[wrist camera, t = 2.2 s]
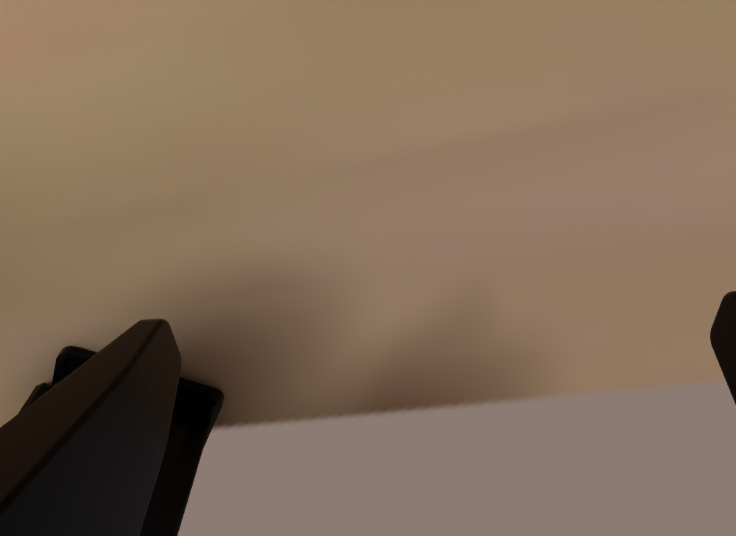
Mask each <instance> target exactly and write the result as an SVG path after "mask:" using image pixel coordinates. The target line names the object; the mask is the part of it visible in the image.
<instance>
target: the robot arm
mask: <svg viewBox="0 0 736 536" xmlns="http://www.w3.org/2000/svg"><path fill="white" fill-rule="evenodd" d="M710 340H711V345H712V348H713V350H714V353H715V355H716V357H717V360H718V362H719V365H720V367H721V370H722V372H723V375H724V377H725V380H726V382H727V385H728V387H729V389H730V392H731V394H732V397H733V399H734V402H735V404H736V291H731V292H729V293H727V294H726V295H725V296H724V297H723V299H722V302H721V304H720V307H719V309H718V312H717V315H716V317H715V320H714V323H713V325H712V328H711V332H710ZM180 371H181V355H180V352H179V349H178V346H177V344H176V341H175V338H174V335H173V333H172V330H171V327H170V325H169V323H168V322H167V321H166V320H164V319H146V320H141V321H139V322H137V323H136V324H134V325H133V326H132V327H131V328H129V329H128V330H127V331H125V332H124V333H123V334H121V335H120V336H119V337H118V338H116V339H115V340H114V341H112V342H111V343H110V344H109V345H107V346H106V347H105V348H103V349H102V350H101V351H99V352H98V353H94V352H91V351H88V350H84V349H81V348H77V347H72V346H69V347H65V348H63V349H62V350H61V352H60V354H59V355H58V357H57V359H56V364H55V369H54V375H53V381H52V385H51V384H48V383H42V384H40V385H38V386H36V387H35V389H34V390H33V392H32V393H31V395H30V396H29V398H28V400H27V401H26V403H25V404H24V406H23V407H22V409H21V410H20V412H19V413H18V415H16V416H15V417H14V418H12V419H11V420H10V421H9V422H7V423H6V424H5V425H3V426H2V427H1V428H0V536H177V535H178V532H179V529H180V525H181V522H182V518H183V515H184V512H185V508H186V505H187V502H188V498H189V495H190V491H191V488H192V485H193V481H194V478H195V474H196V471H197V468H198V464H199V461H200V458H201V454H202V451H203V448H204V446H205V443H206V441H207V439H208V437H209V434H210V432H211V430H212V427H213V425H214V423H215V421H216V418H217V416H218V414H219V412H220V409H221V407H222V404H223V400H224V395H223V393H222V392H221V391H220V390H218V389H216V388H213V387H210V386H206V385H203V384H199V383H196V382H193V381H189V380H186V379H182V378H179V376H180ZM210 399H212V400H210Z"/></svg>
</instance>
